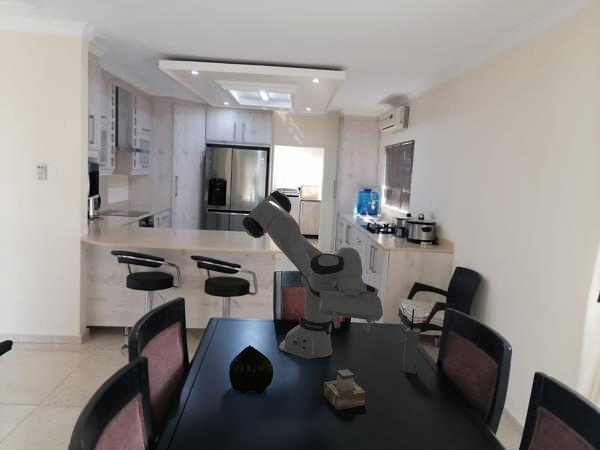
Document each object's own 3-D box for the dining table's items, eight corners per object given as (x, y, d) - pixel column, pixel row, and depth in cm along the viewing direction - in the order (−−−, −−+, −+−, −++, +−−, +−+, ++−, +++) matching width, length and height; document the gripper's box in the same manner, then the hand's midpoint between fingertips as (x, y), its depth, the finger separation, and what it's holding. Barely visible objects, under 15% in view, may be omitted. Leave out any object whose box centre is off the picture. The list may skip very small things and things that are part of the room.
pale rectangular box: (335, 394, 143) (337, 370, 142) (346, 393, 144) (347, 369, 143) (341, 400, 139) (343, 376, 138) (352, 399, 141) (353, 374, 140)
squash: (259, 391, 134) (271, 345, 142) (216, 383, 138) (230, 339, 146) (271, 403, 145) (281, 359, 153) (231, 396, 149) (243, 354, 158)
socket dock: (323, 394, 144) (324, 382, 144) (348, 390, 148) (349, 378, 148) (337, 410, 135) (338, 396, 135) (364, 405, 139) (365, 391, 139)
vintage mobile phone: (416, 374, 164) (422, 311, 161) (403, 372, 165) (408, 309, 162) (415, 370, 167) (421, 308, 165) (402, 368, 168) (408, 306, 166)
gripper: (321, 281, 138) (321, 320, 129) (382, 289, 140) (386, 328, 132) (317, 291, 143) (317, 329, 134) (376, 299, 145) (379, 337, 136)
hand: (352, 329), depth 133 cm, fingers open, 8 cm apart
